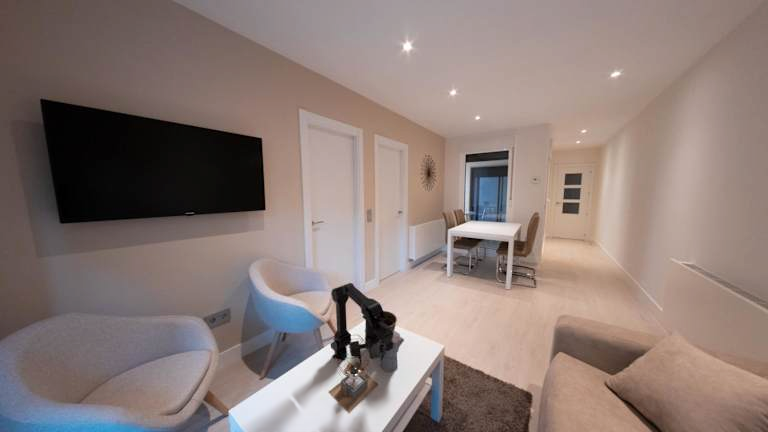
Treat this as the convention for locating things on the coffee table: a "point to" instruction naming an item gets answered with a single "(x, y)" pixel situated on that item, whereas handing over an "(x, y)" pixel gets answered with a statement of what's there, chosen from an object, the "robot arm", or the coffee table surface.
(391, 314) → the plant pot
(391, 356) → the moka pot
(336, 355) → the robot arm
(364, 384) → the press
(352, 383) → the plunger
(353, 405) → the board
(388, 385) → the coffee table surface
